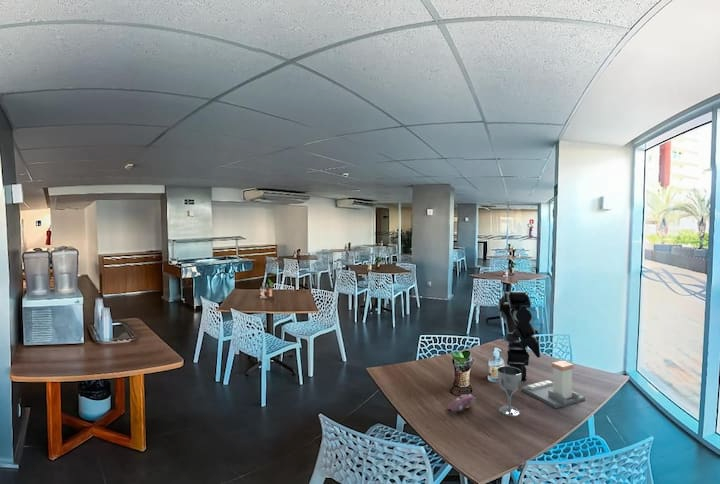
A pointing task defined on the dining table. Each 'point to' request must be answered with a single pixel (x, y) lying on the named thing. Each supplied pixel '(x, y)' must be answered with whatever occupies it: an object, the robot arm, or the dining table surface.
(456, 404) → the pink toy figurine
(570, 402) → the keyboard deck
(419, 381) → the dining table surface
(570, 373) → the key
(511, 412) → the wine glass
